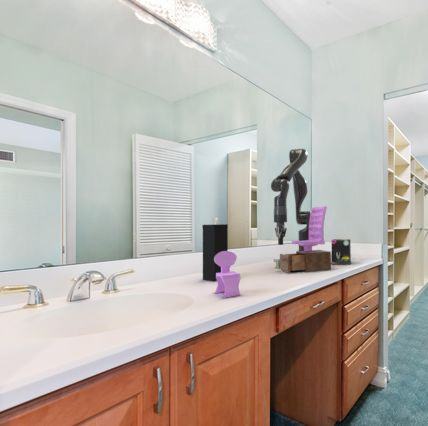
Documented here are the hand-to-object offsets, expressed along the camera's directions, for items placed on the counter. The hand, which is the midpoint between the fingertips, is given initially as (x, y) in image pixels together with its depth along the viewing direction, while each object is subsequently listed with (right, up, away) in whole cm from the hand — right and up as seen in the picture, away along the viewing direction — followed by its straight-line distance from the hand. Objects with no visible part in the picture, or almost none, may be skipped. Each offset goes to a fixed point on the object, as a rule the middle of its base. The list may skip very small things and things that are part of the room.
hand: (280, 244), depth 158 cm
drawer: (+7, -11, -14) cm, 19 cm away
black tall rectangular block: (-27, -12, -32) cm, 44 cm away
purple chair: (+17, -13, +11) cm, 24 cm away
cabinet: (+18, -12, -8) cm, 24 cm away
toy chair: (-14, -11, -60) cm, 63 cm away
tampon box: (+36, -13, +12) cm, 40 cm away
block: (0, -13, 0) cm, 13 cm away
